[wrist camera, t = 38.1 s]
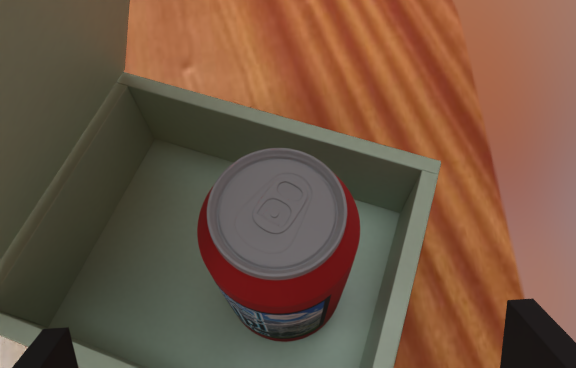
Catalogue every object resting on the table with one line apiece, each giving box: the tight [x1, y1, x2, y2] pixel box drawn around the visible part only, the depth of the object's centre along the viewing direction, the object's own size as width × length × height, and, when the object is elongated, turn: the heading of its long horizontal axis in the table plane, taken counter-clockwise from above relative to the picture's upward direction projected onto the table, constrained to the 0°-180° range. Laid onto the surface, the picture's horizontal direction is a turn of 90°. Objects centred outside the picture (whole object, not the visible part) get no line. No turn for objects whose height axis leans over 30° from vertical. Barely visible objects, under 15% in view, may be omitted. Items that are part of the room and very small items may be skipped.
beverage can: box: [197, 148, 360, 342], centre depth 23 cm, size 7×7×12 cm
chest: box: [0, 72, 441, 368], centre depth 26 cm, size 20×16×7 cm
